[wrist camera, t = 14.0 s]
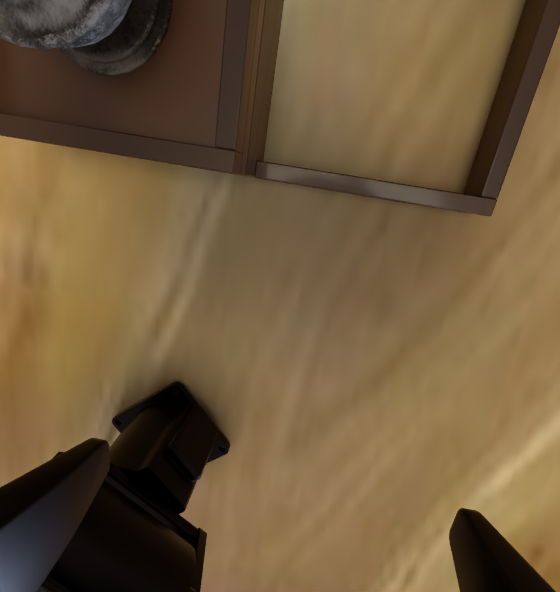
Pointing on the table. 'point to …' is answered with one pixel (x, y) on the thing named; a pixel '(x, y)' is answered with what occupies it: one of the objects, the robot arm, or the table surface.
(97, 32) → the grey rounded piece
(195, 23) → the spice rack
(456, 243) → the table surface
